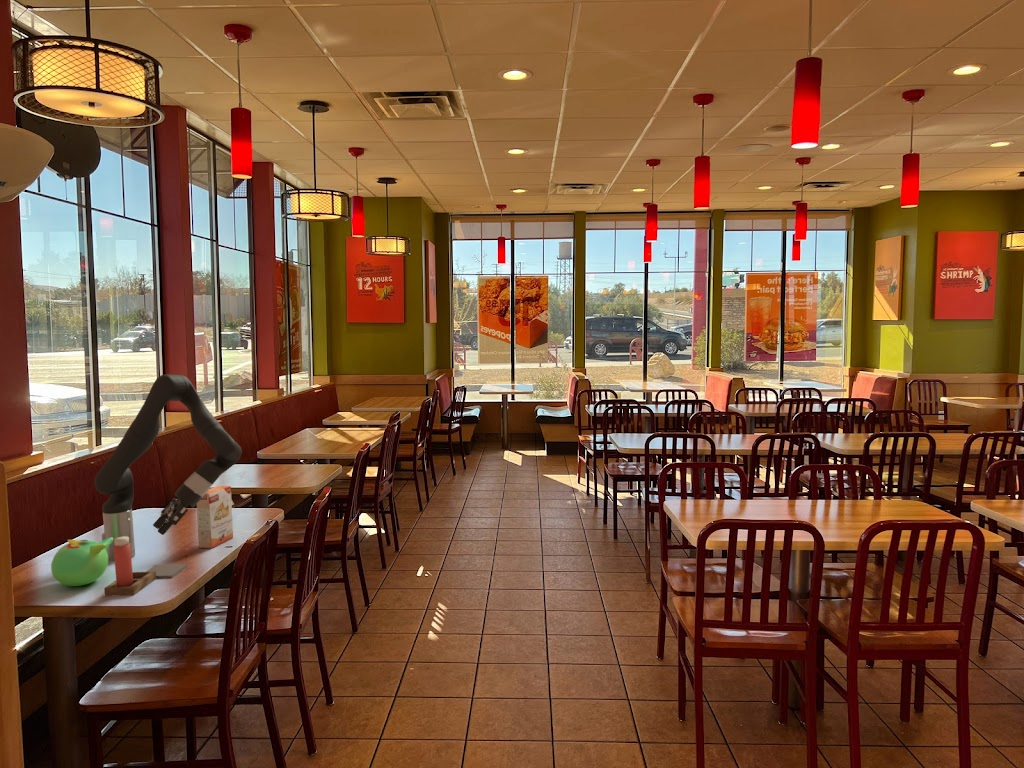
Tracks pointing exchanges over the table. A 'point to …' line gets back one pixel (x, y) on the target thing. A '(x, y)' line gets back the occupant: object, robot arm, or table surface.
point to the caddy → (138, 584)
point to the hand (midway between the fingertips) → (157, 530)
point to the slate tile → (167, 570)
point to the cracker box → (215, 517)
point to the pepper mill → (123, 562)
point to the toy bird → (80, 562)
